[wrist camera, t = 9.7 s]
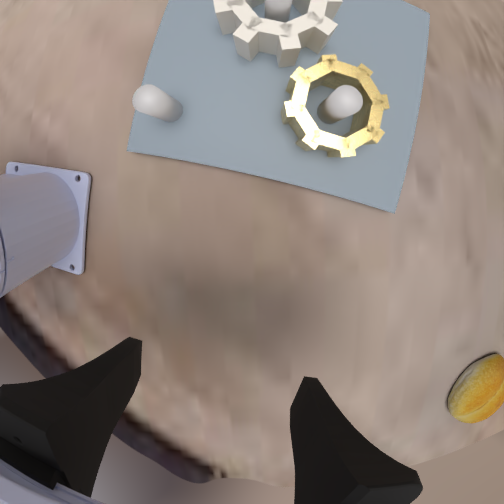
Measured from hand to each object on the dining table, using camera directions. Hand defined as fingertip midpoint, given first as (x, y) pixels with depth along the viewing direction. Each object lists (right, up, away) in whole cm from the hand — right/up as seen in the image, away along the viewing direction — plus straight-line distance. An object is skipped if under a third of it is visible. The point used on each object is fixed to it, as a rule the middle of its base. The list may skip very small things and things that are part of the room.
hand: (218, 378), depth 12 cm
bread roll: (+27, -9, +13) cm, 31 cm away
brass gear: (+6, +14, +5) cm, 16 cm away
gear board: (+4, +18, +5) cm, 19 cm away
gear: (+3, +20, +3) cm, 20 cm away
